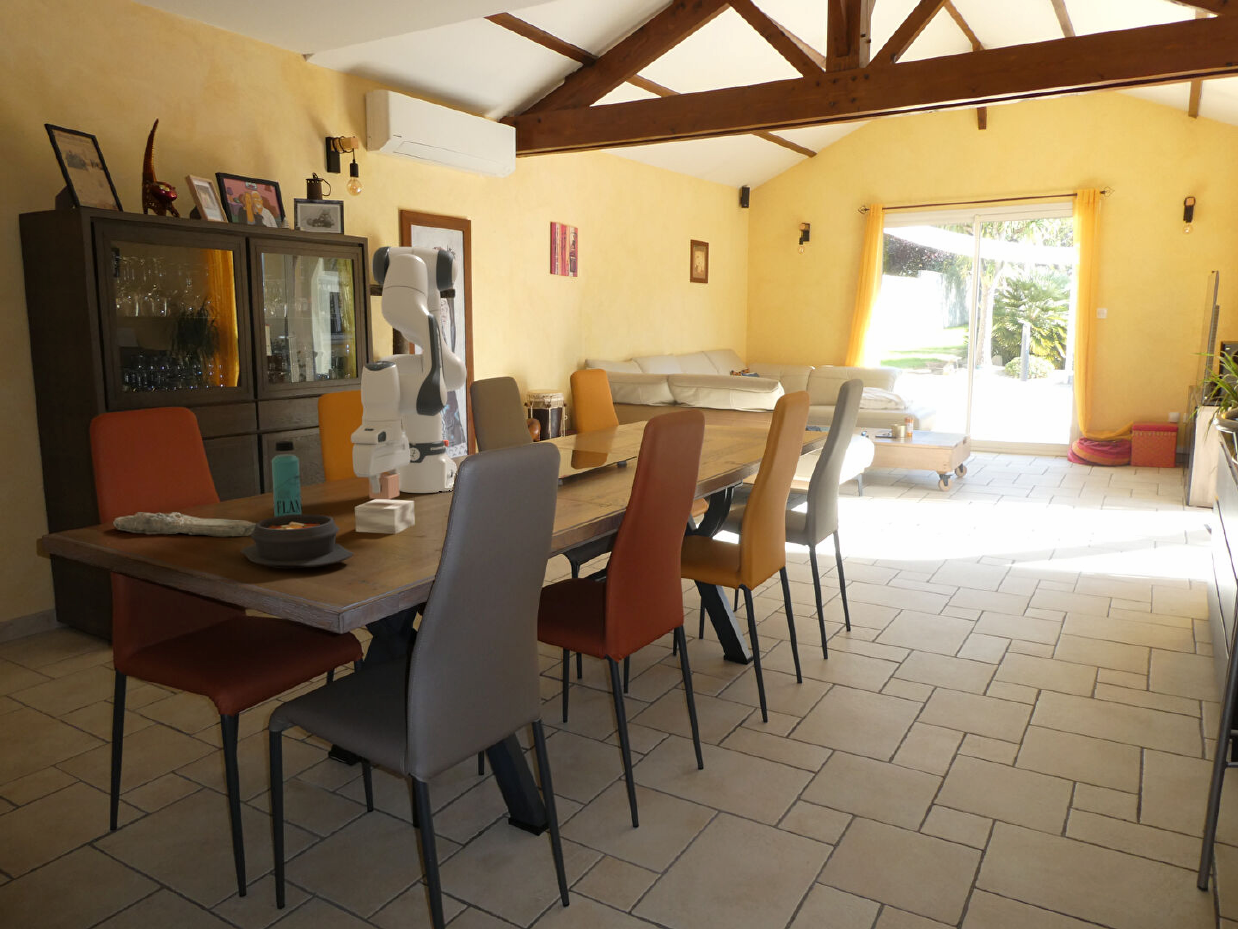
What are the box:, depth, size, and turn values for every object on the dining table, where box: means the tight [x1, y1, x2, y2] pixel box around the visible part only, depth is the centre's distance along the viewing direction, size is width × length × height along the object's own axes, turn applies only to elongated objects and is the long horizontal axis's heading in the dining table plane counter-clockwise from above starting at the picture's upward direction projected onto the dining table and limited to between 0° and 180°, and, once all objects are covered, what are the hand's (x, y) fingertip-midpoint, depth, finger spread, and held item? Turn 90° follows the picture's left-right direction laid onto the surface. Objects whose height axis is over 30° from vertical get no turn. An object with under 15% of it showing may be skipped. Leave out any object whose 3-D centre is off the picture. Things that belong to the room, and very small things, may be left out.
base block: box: [354, 498, 416, 535], centre depth 213 cm, size 10×10×6 cm
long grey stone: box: [112, 511, 257, 538], centre depth 209 cm, size 35×5×10 cm
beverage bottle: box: [271, 440, 303, 517], centre depth 216 cm, size 6×7×20 cm
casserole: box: [240, 513, 354, 569], centre depth 183 cm, size 25×19×8 cm
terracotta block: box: [368, 473, 400, 500], centre depth 212 cm, size 5×5×5 cm
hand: (384, 490), depth 212 cm, fingers closed on terracotta block, 5 cm apart
